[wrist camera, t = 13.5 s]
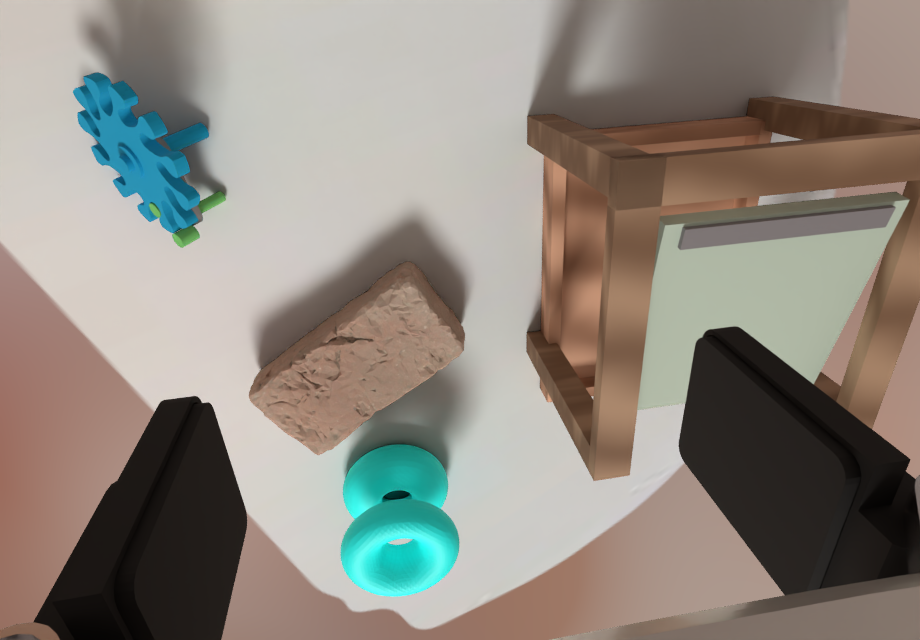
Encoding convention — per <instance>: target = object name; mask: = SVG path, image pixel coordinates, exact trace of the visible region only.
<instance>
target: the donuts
mask: <svg viewBox="0 0 920 640" xmlns="http://www.w3.org/2000/svg"><path fill="white" fill-rule="evenodd" d="M397 490H402V491H406V492H409V493H410V495H409V496H407V497H405V498H402V499H396V500H389V499H385V498H383V496H385V495H386V494H387V493H389V492H392V491H397ZM447 491H448V479H447V475H446V472H445V469H444V468H443V466H442V464H441V463H440V462H439V460H438V459H437V458H436V457H435V456H433V455H432V454H431V453H429V452H428V451H426V450H424V449H422V448H419V447H416V446H412V445H404V444H395V445H388V446H383V447H380V448H377V449H374V450H372V451H370V452H368V453H367V454H365V455H364V456H362V457H361V458H360V459H359V460H358V461H357V462H356V463H355V464H354V465H353V466H352V467H351V469H350V470H349V472H348V474H347V476H346V478H345V481H344V486H343V498H344V502H345V505H346V508H347V509H348V511H349V513H350V514H351V516H352V517H353V518H354V519H355V520H354V521H353V522H352V524H351V525H350V526H349V528H348V529H347V531H346V533H345V535H344V538H343V541H342V544H341V561H342V565H343V568H344V570H345V572H346V574H347V575H348V577H349V578H350V579H351V580H352V581H353V582H354V583H355V584H356V585H357V586H359V587H360V588H362V589H364V590H366V591H368V592H371V593H374V594H377V595H382V596H405V595H411V594H415V593H418V592H421V591H423V590H426V589H428V588H429V587H431V586H433V585H435V584H436V583H437V582H439V581H440V580H441V579H442V578H444V577H445V576H446V575H447V573H448V572H449V571H450V570H451V568H452V567H453V565H454V563H455V561H456V559H457V556H458V552H459V536H458V532H457V529H456V527H455V525H454V523H453V521H452V520H451V518H450V517H449V516H448V515H447V514H446V513H445V512H444V511H443V510H441V507H442V506H443V504H444V501H445V499H446V496H447ZM401 538H409V539H413V540H412V541H410V542H408V543H406V544H401V545H392V544H389V543H387V542H390V541H392V540H396V539H401Z"/></svg>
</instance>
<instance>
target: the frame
mask: <svg viewBox="0 0 920 640" xmlns="http://www.w3.org/2000/svg"><path fill="white" fill-rule="evenodd" d="M772 132H774V133H778V134H782V135H786V136H790V137H794V138H799V139H803V140H798V141H787V142H776V143H770V141H771V136H772ZM527 144H528V145H529V146H531V147H532V148H534V149H536V150H537V151H539V152H540V153H542V154H543V155H544V181H543V239H542V297H541V331H535V332H527V353H528V355H529V357H530V359H531V361H532V363H533V365H534V367H535V369H536V371H537V373H538V375H539V376H540V389H541V391H542V393H543V394H544V396H545V398H546V400H547V402H553V403H554V405H555V407H556V409H557V411H558V413H559V415H560V417H561V419H562V421H563V423H564V424H565V426H566V428H567V430H568V432H569V434H570V436H571V438H572V440H573V442H574V444H575V446H576V447H577V449H578V451H579V453H580V455H581V457H582V459H583V461H584V463H585V465H586V467H587V469H588V470H589V472H590V474H591V476H592V478H593V480H594V481H596V480H603V479H609V478H615V477H622V476H628V475H630V467H631V458H632V450H633V441H634V433H635V424H636V416H637V407H638V399H639V390H640V382H641V373H642V365H643V357H644V348H645V340H646V331H647V323H648V314H649V306H650V297H651V289H652V280H653V272H654V263H655V255H656V246H657V238H658V230H659V221H660V216H666V215H675V214H685V213H695V212H704V211H714V210H724V209H733V208H743V207H753V206H758V201H759V196H767V195H777V194H786V193H796V192H806V191H816V190H826V189H836V188H845V187H855V186H865V185H875V184H885V183H895V182H905V181H907V183H906V186H905V189H904V192H903V196H904V197H906V198H908V199H910V201H909V203H908V205H907V206H906V208H905V210H904V212H903V214H902V216H901V218H900V220H899V222H898V224H897V226H896V228H895V229H894V231H893V233H892V235H891V237H890V239H889V241H888V243H887V245H886V249H885V252H884V255H883V258H882V261H881V264H880V267H879V270H878V274H877V276H876V280H875V283H874V286H873V289H872V292H871V295H870V298H869V301H868V305H867V308H866V311H865V314H864V317H863V320H862V323H861V327H860V329H859V332H858V336H857V339H856V342H855V345H854V348H853V351H852V354H851V357H850V360H849V364H848V367H847V370H846V373H845V376H844V379H843V382H842V385H841V386H839V385H838V384H837V383H835V382H834V381H833V380H831V379H830V378H829V377H827V376H826V375H824V374H823V373H822V372H820V373H819V375H818V377H817V379H816V381H815V383H814V385H815V386H816V387H818V388H819V389H820V390H822V391H823V392H824V393H825V394H827V395H828V396H829V397H831V398H832V399H833V400H835V401H836V402H837V403H838V404H840V405H841V406H842V407H844V408H845V409H846V410H847V411H849V412H850V413H851V414H853V415H854V416H855V417H856V418H858V419H859V420H860V421H862V422H863V423H864V424H865V425H867V426H868V427H869V428H871V429H872V428H873V425H874V422H875V419H876V417H877V414H878V411H879V409H880V406H881V403H882V400H883V397H884V395H885V392H886V389H887V387H888V384H889V381H890V379H891V376H892V373H893V371H894V368H895V365H896V362H897V359H898V357H899V354H900V352H901V349H902V346H903V343H904V341H905V338H906V335H907V332H908V330H909V327H910V324H911V321H912V319H913V316H914V313H915V310H916V308H917V305H918V303H919V300H920V119H917V118H910V117H904V116H898V115H891V114H884V113H878V112H871V111H865V110H858V109H851V108H845V107H839V106H832V105H826V104H819V103H812V102H806V101H799V100H793V99H786V98H780V97H761V98H750V99H749V104H748V110H747V115H746V116H743V117H731V118H719V119H707V120H695V121H683V122H671V123H659V124H647V125H635V126H623V127H611V128H599V129H589V128H586V127H584V126H582V125H579V124H577V123H574V122H572V121H570V120H567V119H565V118H562V117H560V116H558V115H555V114H547V115H534V116H527ZM591 396H594V399H592V397H591Z"/></svg>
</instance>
